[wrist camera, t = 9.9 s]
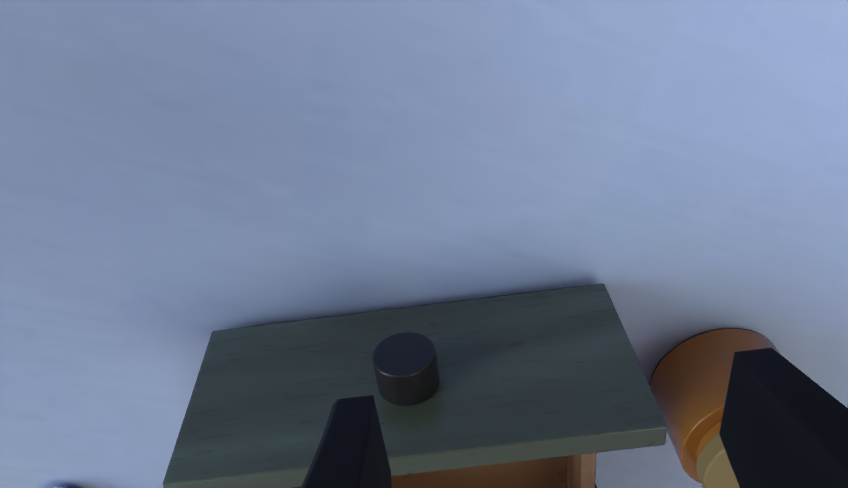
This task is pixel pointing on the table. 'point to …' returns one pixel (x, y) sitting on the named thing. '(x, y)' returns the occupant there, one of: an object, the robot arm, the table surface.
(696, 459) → the jar
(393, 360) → the drawer
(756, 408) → the robot arm
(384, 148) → the table surface
